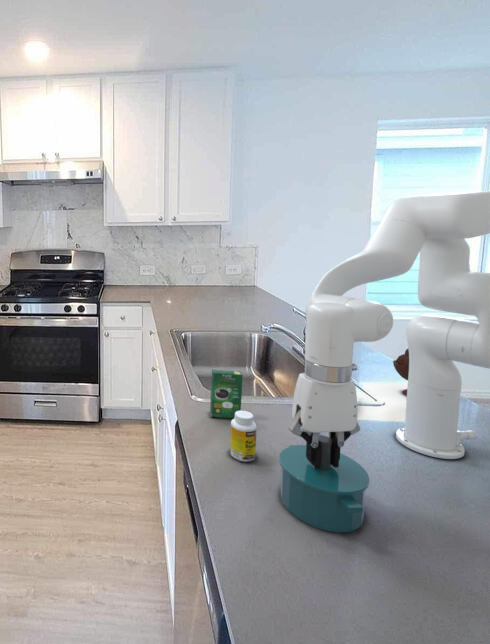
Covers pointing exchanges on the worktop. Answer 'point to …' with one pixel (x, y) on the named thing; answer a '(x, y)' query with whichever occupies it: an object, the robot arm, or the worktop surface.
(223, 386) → the coffee box
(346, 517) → the pot
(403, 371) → the ice cream bowl
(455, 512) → the worktop surface
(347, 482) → the lid
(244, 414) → the supplement bottle
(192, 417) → the worktop surface
